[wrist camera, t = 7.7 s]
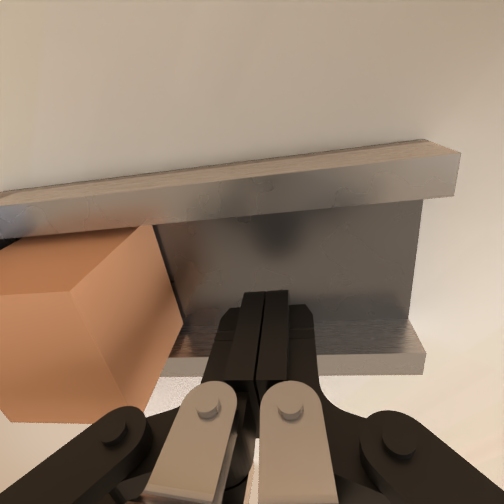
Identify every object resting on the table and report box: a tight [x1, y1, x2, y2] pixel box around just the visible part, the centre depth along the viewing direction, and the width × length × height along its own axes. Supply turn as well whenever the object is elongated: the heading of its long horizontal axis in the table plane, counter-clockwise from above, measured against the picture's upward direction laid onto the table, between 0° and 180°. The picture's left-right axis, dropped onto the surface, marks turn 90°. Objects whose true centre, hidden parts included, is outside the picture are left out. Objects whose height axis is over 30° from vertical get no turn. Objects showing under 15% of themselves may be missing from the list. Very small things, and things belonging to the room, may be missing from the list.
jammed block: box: [0, 225, 183, 424], centre depth 11 cm, size 5×6×5 cm
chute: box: [0, 139, 461, 377], centre depth 12 cm, size 17×9×4 cm, turn 98°
